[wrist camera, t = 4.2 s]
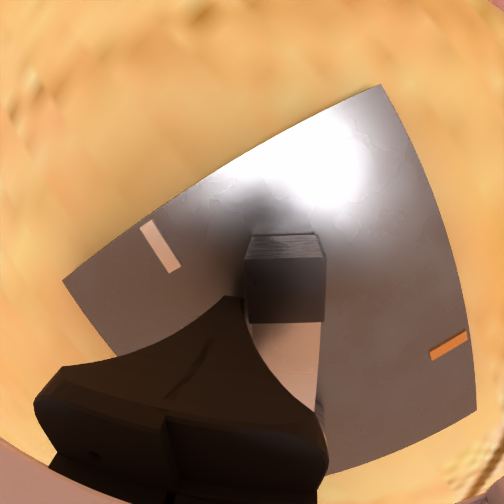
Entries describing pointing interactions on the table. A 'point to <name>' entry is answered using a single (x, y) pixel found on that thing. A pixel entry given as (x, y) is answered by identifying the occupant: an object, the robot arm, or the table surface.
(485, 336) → the table surface
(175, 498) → the robot arm
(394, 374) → the plate
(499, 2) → the clip
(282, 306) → the lever
